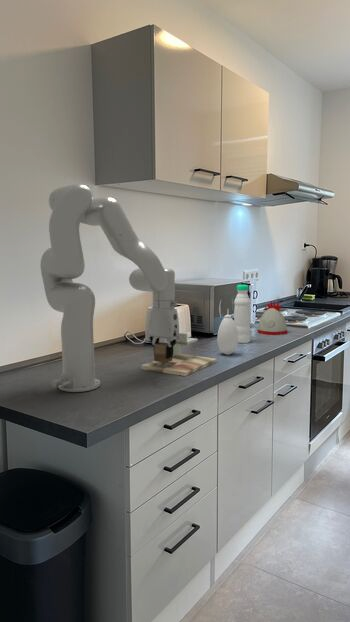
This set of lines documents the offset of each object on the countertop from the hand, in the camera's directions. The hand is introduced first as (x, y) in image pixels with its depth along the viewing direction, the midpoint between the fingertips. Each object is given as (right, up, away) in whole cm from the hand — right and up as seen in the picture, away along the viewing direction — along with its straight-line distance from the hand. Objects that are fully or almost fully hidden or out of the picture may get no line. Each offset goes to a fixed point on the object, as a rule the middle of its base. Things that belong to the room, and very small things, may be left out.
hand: (163, 356), depth 167 cm
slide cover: (+7, -1, +11) cm, 13 cm away
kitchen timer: (+51, +5, +64) cm, 82 cm away
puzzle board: (+6, -4, +4) cm, 8 cm away
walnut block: (0, -2, 0) cm, 2 cm away
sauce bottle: (+25, -1, +20) cm, 32 cm away
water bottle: (+33, +2, +42) cm, 54 cm away
